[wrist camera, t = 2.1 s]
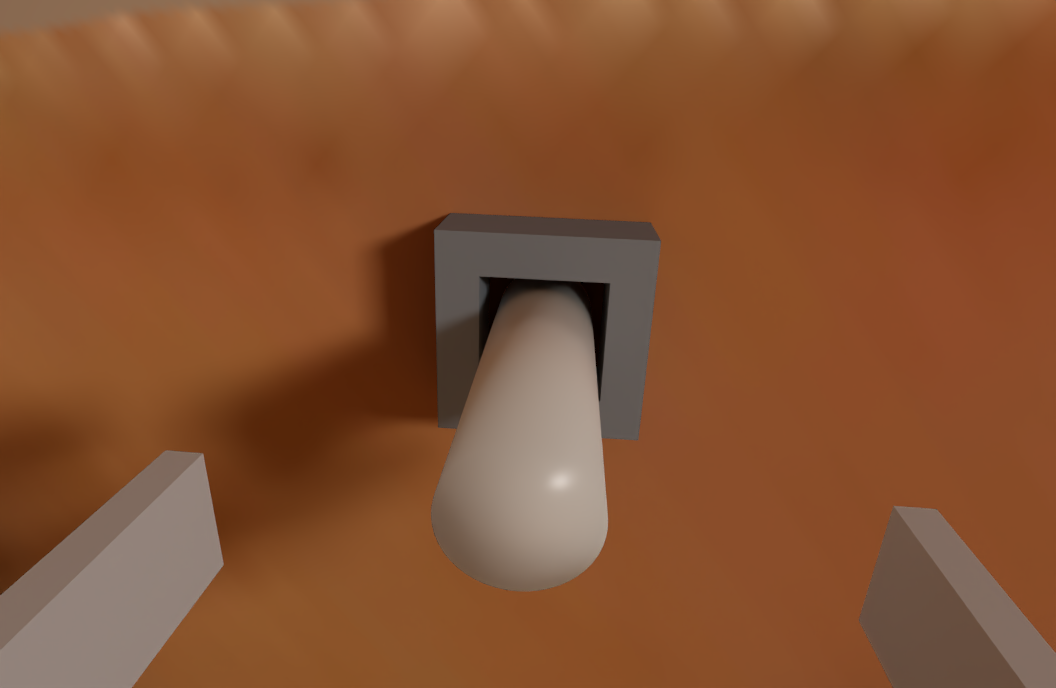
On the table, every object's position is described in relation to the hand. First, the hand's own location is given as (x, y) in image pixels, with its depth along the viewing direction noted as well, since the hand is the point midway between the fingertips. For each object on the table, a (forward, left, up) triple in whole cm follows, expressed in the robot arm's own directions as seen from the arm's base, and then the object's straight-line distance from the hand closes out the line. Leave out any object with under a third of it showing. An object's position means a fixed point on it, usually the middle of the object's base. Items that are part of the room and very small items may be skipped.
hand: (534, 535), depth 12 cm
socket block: (0, 0, -14) cm, 14 cm away
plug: (0, 0, -14) cm, 14 cm away
